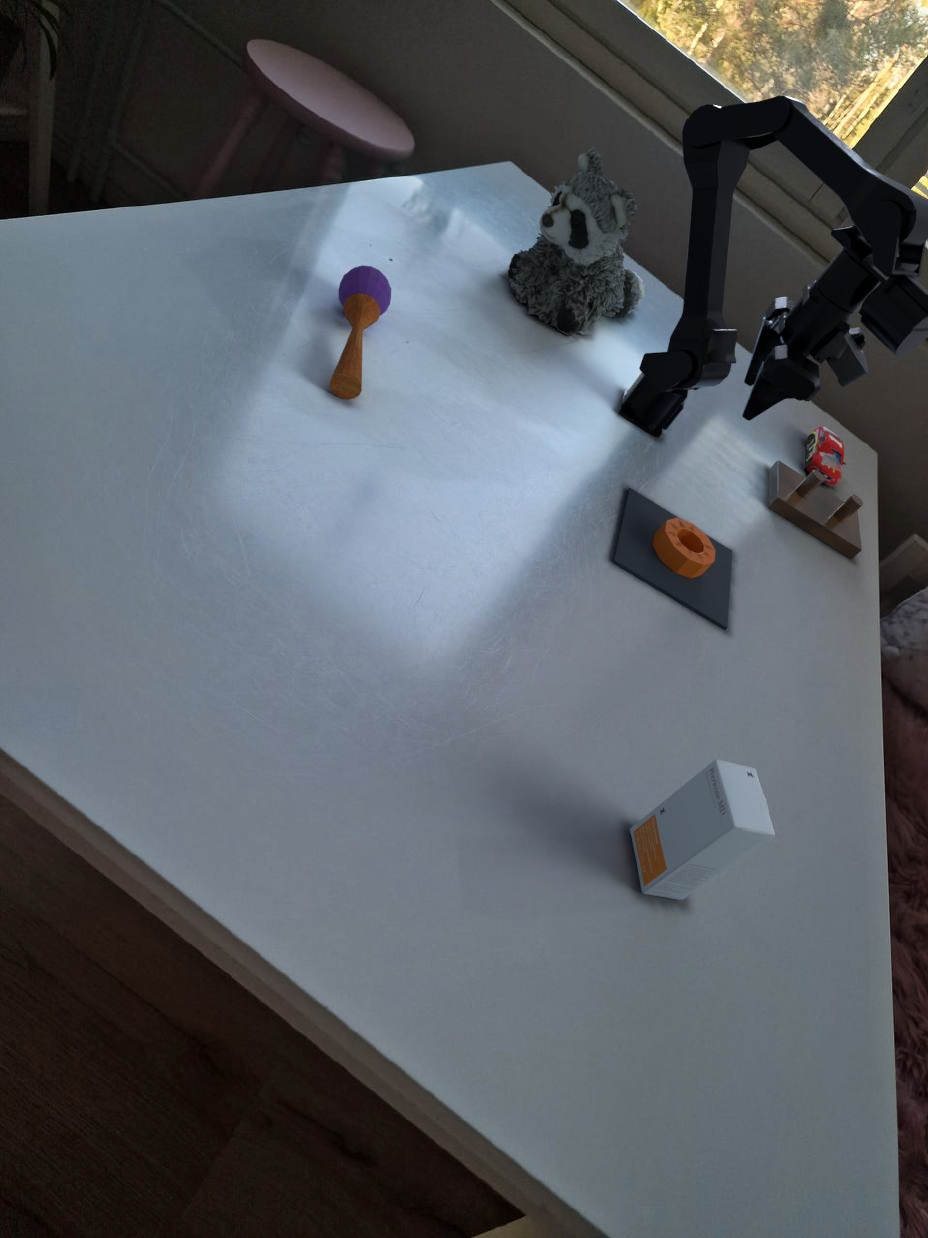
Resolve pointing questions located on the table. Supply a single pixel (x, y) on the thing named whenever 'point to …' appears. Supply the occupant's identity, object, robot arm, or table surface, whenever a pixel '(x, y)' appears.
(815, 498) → the rack
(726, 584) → the mat
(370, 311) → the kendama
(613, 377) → the table surface
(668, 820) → the cosmetic box
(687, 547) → the disc
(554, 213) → the raccoon plush
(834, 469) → the race car
